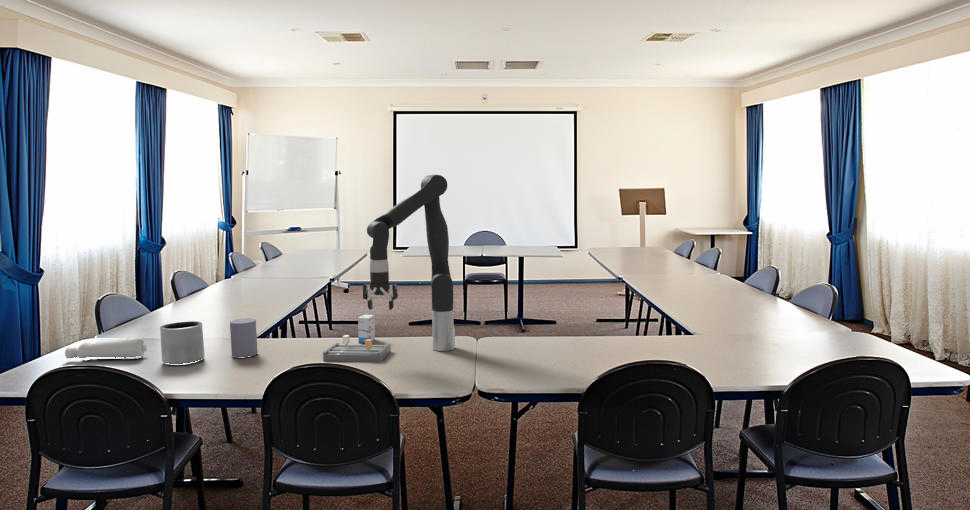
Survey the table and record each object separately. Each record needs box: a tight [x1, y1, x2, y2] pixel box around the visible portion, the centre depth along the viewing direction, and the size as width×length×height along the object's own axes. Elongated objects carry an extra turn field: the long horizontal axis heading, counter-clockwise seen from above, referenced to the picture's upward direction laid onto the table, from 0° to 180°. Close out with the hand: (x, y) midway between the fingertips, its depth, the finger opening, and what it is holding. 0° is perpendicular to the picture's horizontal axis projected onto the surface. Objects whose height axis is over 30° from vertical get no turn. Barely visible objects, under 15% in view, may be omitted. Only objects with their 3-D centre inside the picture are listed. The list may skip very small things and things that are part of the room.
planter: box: [159, 320, 205, 364], centre depth 265 cm, size 16×16×16 cm
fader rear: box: [342, 334, 351, 347], centre depth 274 cm, size 2×3×5 cm, turn 173°
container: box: [229, 318, 259, 357], centre depth 273 cm, size 10×10×15 cm
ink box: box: [357, 314, 376, 344], centre depth 295 cm, size 9×5×12 cm, turn 168°
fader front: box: [364, 339, 373, 352], centre depth 265 cm, size 2×3×5 cm, turn 173°
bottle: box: [64, 337, 148, 359], centre depth 270 cm, size 9×9×30 cm
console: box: [322, 342, 392, 363], centre depth 270 cm, size 24×16×4 cm, turn 83°
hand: (380, 309), depth 264 cm, fingers open, 8 cm apart
